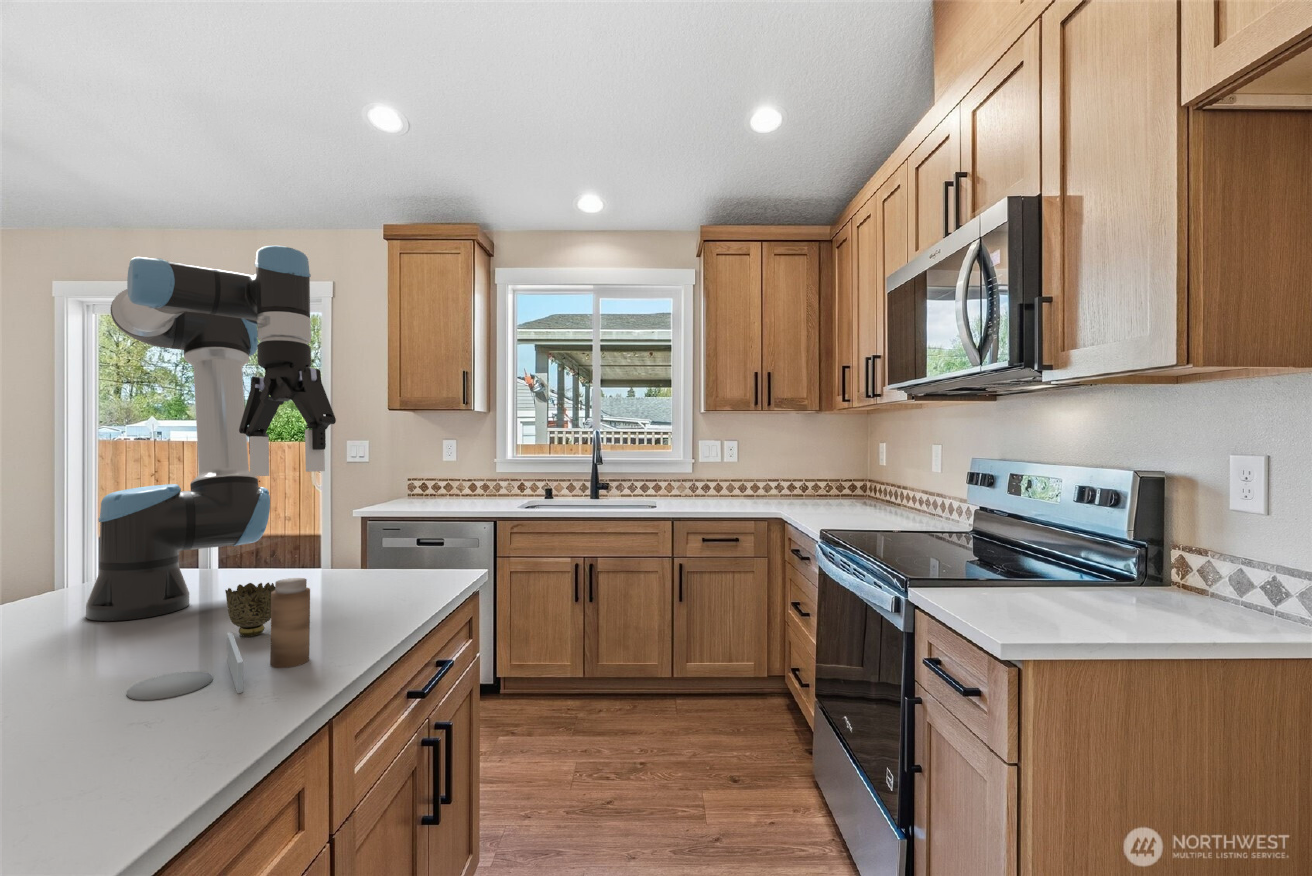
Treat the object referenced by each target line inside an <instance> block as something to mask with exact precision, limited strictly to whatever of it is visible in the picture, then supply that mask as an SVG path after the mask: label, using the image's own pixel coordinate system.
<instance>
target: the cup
mask: <svg viewBox="0 0 1312 876" xmlns="http://www.w3.org/2000/svg"><path fill="white" fill-rule="evenodd" d="M273 591H275V584H274V583H273V582H272V583H270V582H266V583H265V584H264V586H263V583H262V582H259V583H258V584H257V585H255V583H253V582H248V583H247V584H245V585H244V586H243V584H238V585H237V586H236V590H232V588H230V587H228V588H227V589H225V591H224V592H225V597H226V598H225V599H226V605H227V606H226V607H227V612H228V617H229V620H230V621H231V623H232V624H233V625H234V626H236V627H239V629H238V634H239V636H241V637H245V638H249V637H256V636H259V635H261V634H263V632H264V631H265V629H266V628H265V624H267V623H268V622H269V621H271V592H273Z"/></svg>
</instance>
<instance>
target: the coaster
mask: <svg viewBox="0 0 1312 876" xmlns="http://www.w3.org/2000/svg"><path fill="white" fill-rule="evenodd" d="M212 681H213V675H212V674H211V673H210V672H207V671H199V670H198V671H197V670H191V671H187V670H186V671H179V672H177V671H176V672H172V673H167V674H161V675H157V676H153V677H150V678H147V679H145V680H141V681H139V682H137V683H135V684H133V685H132V686H130V687H129V688H128V689H127V690H126V696H127V698H129V699H131V700H134V701H155V700H163V699H164V700H165V699H168V698H175V697H179V696H183V695H186V694H190V693H193V692H195V691H198V690H201V689H202V688H205V687H207V686H208V685H210V684H211V683H212Z"/></svg>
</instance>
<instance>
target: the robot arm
mask: <svg viewBox="0 0 1312 876" xmlns="http://www.w3.org/2000/svg"><path fill="white" fill-rule="evenodd" d="M255 258H256V259H255V263H254V267H255V274H254V275H252V274H246V273H241V272H235V271H228V270H222V269H216V268H210V267H203V266H197V265H192V264H185V263H181V262H175V261H169V260H165V259H163V258H160V257H159V258H158V257H157V258H149V257H142V256H135V257H133V258H131V259H130V260H129V261H130V262H129V264H128V265H129V266H128V268H127V277H126V278H127V279H126V281H127V283H126V284H127V285H126V286H127V289H124V290H122V291H120V292H119V293H118V294H117V295H115V296H114V297H115V298H114V299H113V301H112V302H111V304H110V315H111V320H112V322H114V323H113V324H115V326H116V327H117V328H118V329H119V330H120V331H122V332H123V333H124V334H125V335H127V336H128V337H130V338H132V339H134V340H136V341H138V342H141V343H143V344H146V345H149V346H154V347H158V348H162V349H163V348H164V349H171V350H181V351H183V359H184V361H185V362H186V363H188V364H189V365H190V366H192V367H193V381H194V401H195V421H196V422H195V423H196V439H197V440H196V441H197V456H198V457H197V458H198V459H197V461H198V475H197V476H196V477H195V478H194V479H193V480H192V481H190V485H189V486H190V490H182V488H181V487H180V485H179V484H176V483H169V484H168V483H167V484H160V485H159V484H158V485H157V484H156V485H148V486H140V487H134V488H127V489H122V490H117V491H113V492H110V493H108V494H106V495H105V496H104V497H103V498H102V500H101V502H100V511H99V518H98V519H97V521H98V523H100V525H99V528H100V529H99V556H98V557H99V558H98V560H99V561H98V562H99V564H98V565H99V567H98V569H99V571H98V576H97V578H96V580H95V581H94V582H95V583H94V585H93V587H92V589H91V592H90V593H89V597H88V599H87V602H86V605H85V618H86V619H88V620H91V621H97V622H98V621H100V622H113V621H128V620H137V619H145V618H151V617H157V616H162V615H167V614H170V613H174V612H177V611H180V610H182V609H185V608H187V607H188V606H189V605H190V591H189V588H188V586H187V583H186V580H185V578H184V575H183V573H182V570H181V568H180V565H179V564H180V551H189V550H201V549H210V548H221V547H229V546H230V547H231V546H232V547H237V546H240V545H249V544H254V543H256V542H259V540H261V538H262V537H263V536H264V534H265V532H266V529H267V525H268V523H269V518H270V512H271V496H270V492H269V489H268V488H266V487H263V486H260V487H259V478H258V477H268V476H270V457H269V456H270V445H269V444H270V443H269V440H270V439H269V437H270V436H269V434H268V433H267V431H268V429H269V427H270V426H271V424H272V422H273V419H274V417H275V415H276V413H277V411H278V409H279V407H280V406H282V405H284V404H285V402H289V401H292V402H293V404H294V405H295V407H296V408H297V410H298V412H299V414H300V416H301V417H302V418H303V420H304V421H305V423H306V425H305V426H304V428H305V429H304V446H305V447H304V448H305V452H304V453H305V472H306V473H308V472H313V473H314V472H325V470H326V463H325V462H326V459H325V450H326V447H327V445H326V439H327V438H326V431H327V429H328V427H329V426H330V425H335V423H336V422H337V418H336V416H335V413H334V411H333V408H332V406H331V405H332V404H331V403H330V401H329V397H328V396H327V392H326V390H325V388H324V385H323V383H322V374H321V370H320V368H315V367H314V368H313V367H312V348H311V346H310V345H309V344H310V343H311V342H312V328H311V327H312V326H311V324H312V323H311V294H310V292H311V291H310V290H311V287H310V286H311V283H310V281H311V279H310V278H311V276H312V275H311V272H310V264H309V262H310V261H309V258H308V256H307V255H306V254H305V253H304V252H303V251H300V250H298V249H296V248H293V247H288V246H285V245H284V246H283V245H266V246H262V247H261V248H259V249H257V251H256V256H255ZM258 341H260V342H258ZM256 352H257V354H256ZM255 354H256V355H257V365H258V366H259V367H260V368H263V369H264V376H263V377H261V376H255V375H253V376H252V377H251V378H250V389H249V394H248V396H247V397H248V398H247V400H246V404H245V396H244V395H245V394H244V382H243V381H244V379H243V369H242V368H243V367H244V366H245V365H246V364H248V362H249V361H250V357H251V356H254V355H255ZM247 437H248V439H247ZM248 449H249V450H248Z"/></svg>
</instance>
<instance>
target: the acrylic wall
mask: <svg viewBox="0 0 1312 876" xmlns="http://www.w3.org/2000/svg"><path fill="white" fill-rule="evenodd" d="M226 637H227V642H226V647H227V648H226V651H227V652H226V661H227V664H228V668H229V672H230V675H231V678H232V681H233V684H234V687H235V690H236V693H237V694H241V693H243V692H244V691H243V690H244V660H243V657H242V654H241V653H240V649H239V647H238V644H237V641H236V639H235V636H234V633H233V632H228V633H227V636H226Z"/></svg>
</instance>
